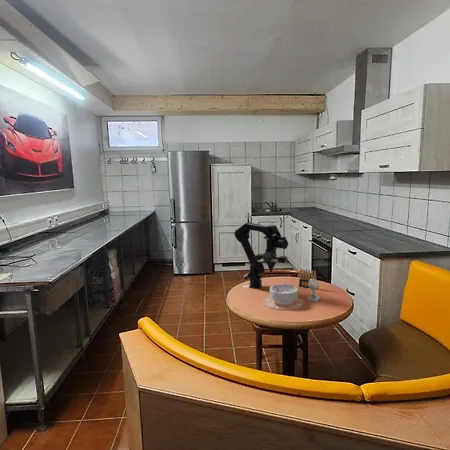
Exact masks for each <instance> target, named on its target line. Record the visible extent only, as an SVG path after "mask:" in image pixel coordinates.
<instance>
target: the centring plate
mask: <svg viewBox="0 0 450 450" xmlns="http://www.w3.org/2000/svg"><path fill="white" fill-rule="evenodd" d="M262 304H263V305H264V306H265V307H267V308H270V309H271V310H276V311H293V310H298V309H301V308H302V307H303V306H304V302H303V300H302V299H301V298H299V297H298V298H297V299H296V300H295V301H294V302H293V303H292V304H289V305H279V304H277V303H275V302H274V300H272V299H271V298H270V295H269V296H267V297H264V298H263V300H262Z"/></svg>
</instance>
